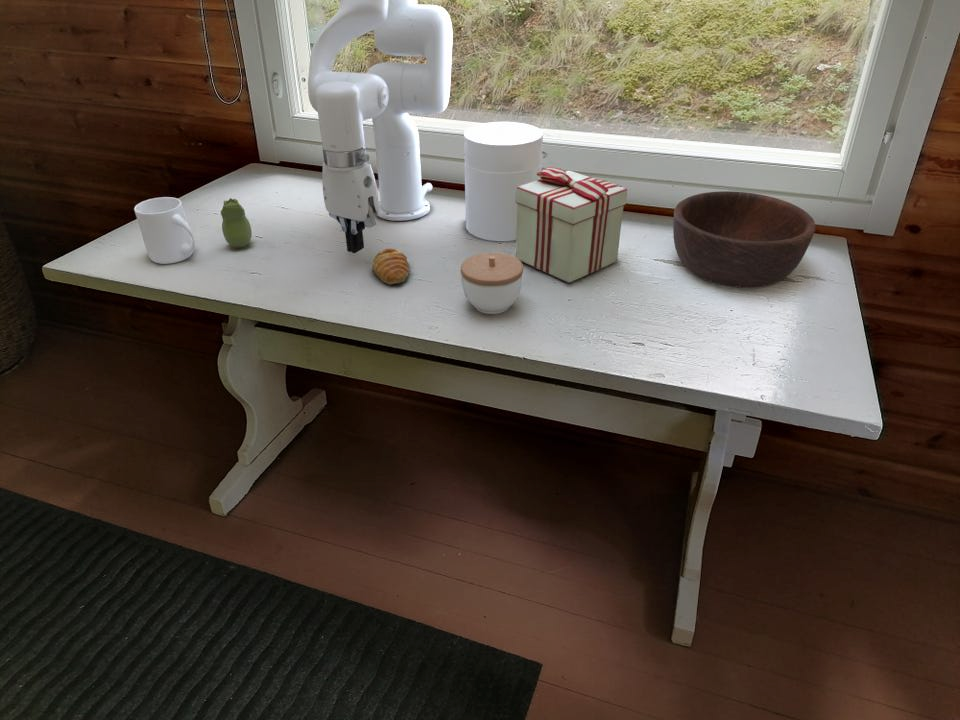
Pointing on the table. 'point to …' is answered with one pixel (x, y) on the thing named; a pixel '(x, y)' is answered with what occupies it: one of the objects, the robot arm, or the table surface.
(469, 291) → the trinket box
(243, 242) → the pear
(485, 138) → the canister
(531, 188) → the gift box
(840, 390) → the table surface
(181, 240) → the mug
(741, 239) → the wooden bowl
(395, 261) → the pastry
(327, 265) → the table surface
